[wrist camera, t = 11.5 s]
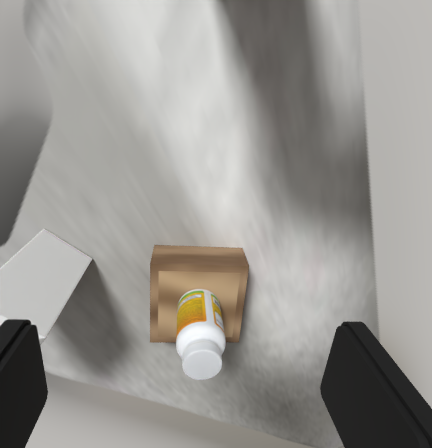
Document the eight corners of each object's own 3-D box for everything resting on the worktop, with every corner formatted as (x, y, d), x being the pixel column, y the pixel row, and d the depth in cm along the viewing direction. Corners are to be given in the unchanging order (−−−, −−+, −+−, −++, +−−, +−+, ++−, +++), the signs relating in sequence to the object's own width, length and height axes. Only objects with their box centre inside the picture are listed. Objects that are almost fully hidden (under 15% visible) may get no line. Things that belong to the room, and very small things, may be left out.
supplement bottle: (170, 315, 40) (166, 378, 31) (187, 281, 38) (187, 338, 29) (209, 327, 41) (215, 391, 32) (226, 295, 39) (238, 353, 30)
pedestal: (154, 245, 41) (150, 263, 37) (242, 248, 43) (249, 266, 38) (153, 317, 46) (150, 342, 41) (233, 318, 47) (238, 342, 42)
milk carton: (93, 257, 41) (24, 375, 24) (65, 293, 43) (-19, 428, 25) (44, 227, 39) (-72, 332, 21) (16, 266, 41) (-113, 392, 23)
